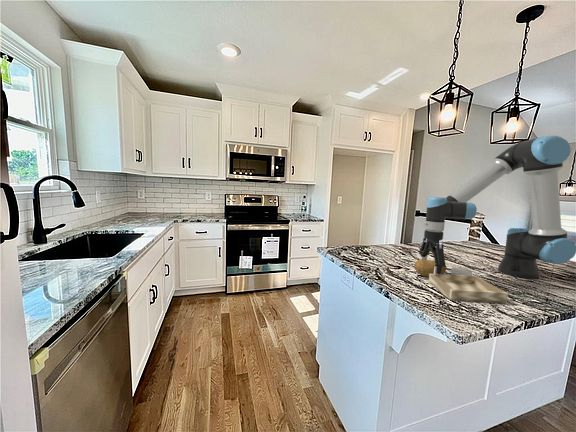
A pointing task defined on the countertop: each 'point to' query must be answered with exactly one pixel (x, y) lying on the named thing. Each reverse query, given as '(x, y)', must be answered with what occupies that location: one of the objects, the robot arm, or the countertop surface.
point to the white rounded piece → (460, 271)
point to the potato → (426, 267)
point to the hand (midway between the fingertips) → (429, 274)
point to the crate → (467, 288)
